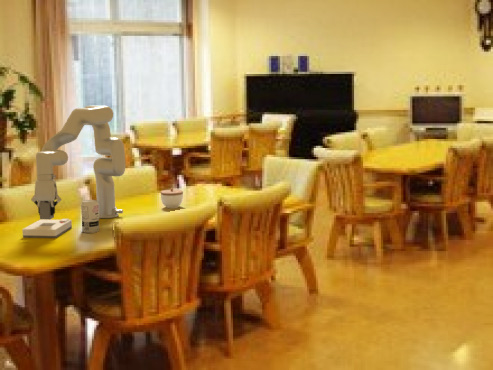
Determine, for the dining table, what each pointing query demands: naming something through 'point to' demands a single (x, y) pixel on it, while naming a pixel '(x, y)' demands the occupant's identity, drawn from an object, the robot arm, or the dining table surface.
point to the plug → (45, 210)
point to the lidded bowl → (172, 198)
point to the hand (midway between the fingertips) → (46, 214)
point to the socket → (47, 228)
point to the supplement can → (90, 216)
